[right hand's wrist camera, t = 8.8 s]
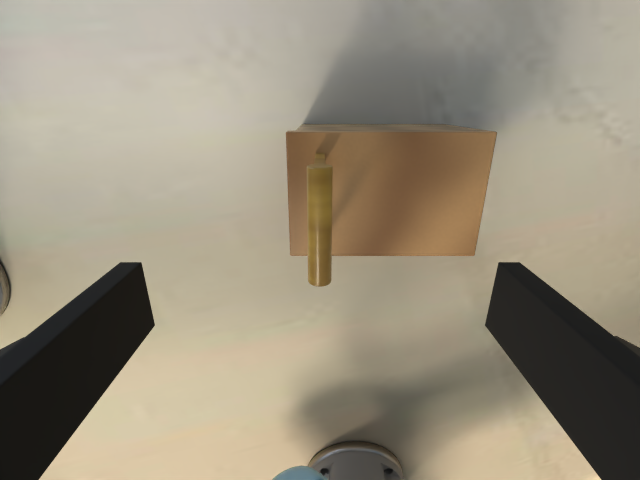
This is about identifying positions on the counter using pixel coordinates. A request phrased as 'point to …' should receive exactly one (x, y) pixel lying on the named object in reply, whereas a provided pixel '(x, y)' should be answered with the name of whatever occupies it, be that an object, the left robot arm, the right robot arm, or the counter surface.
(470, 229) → the lid
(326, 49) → the counter surface
